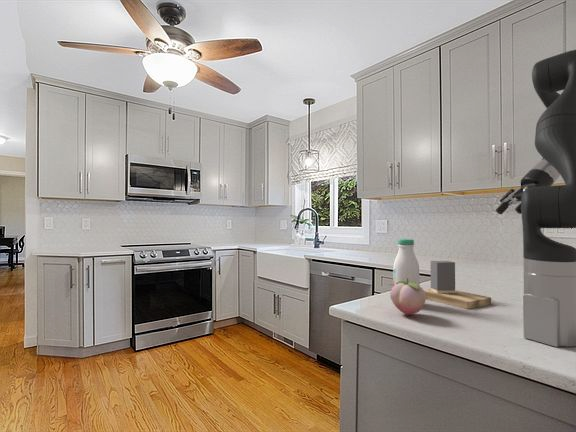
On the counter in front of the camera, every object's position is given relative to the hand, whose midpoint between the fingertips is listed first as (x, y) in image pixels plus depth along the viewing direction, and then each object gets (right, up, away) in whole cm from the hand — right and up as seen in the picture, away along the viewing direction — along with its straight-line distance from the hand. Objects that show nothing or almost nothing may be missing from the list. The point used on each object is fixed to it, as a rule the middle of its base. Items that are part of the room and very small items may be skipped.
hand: (507, 212), depth 103 cm
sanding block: (-18, -26, +5) cm, 33 cm away
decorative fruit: (-37, -28, -15) cm, 49 cm away
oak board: (-17, -29, +1) cm, 33 cm away
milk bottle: (-33, -29, -3) cm, 44 cm away
